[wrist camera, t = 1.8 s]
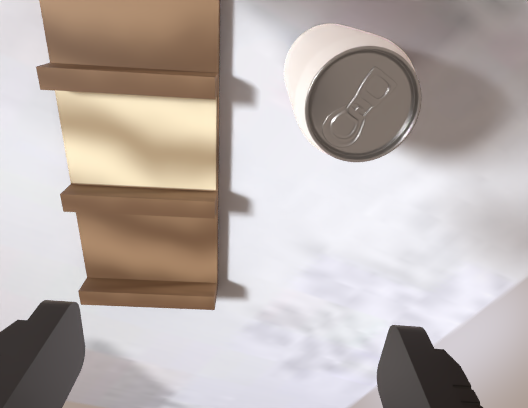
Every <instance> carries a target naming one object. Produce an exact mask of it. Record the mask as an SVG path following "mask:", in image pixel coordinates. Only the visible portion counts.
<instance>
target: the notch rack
mask: <svg viewBox="0 0 528 408" xmlns="http://www.w3.org/2000/svg"><path fill="white" fill-rule="evenodd" d="M39 1H40V7H41V13H42V18H43V24H44V30H45V36H46V42H47V47H48V53H49V59H50V63H48V64H44V65H41V66H37V67H36V68H37V74H38V79H39V84H40V90H55V94H56V100H57V105H58V111H59V117H60V123H61V128H62V134H63V140H64V146H65V152H66V157H67V163H68V169H69V175H70V181H71V185H70V186H68V187H67V188H66V189H65V190H64V191H63V192H62V193H61V194H60V196H61V201H62V206H63V211H64V212H76V215H77V221H78V227H79V233H80V239H81V244H82V250H83V256H84V262H85V268H86V273H87V279H86V280H85V282H84V283H83V285H82V287H81V288H80V290H79V297H80V302H81V305H105V306H130V307H155V308H180V309H205V310H214V309H215V303H216V296H217V289H218V173H219V50H220V0H39Z"/></svg>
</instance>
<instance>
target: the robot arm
mask: <svg viewBox="0 0 528 408" xmlns="http://www.w3.org/2000/svg"><path fill="white" fill-rule="evenodd" d="M84 357H85V342H84V335H83V328H82V322H81V315H80V309H79V305H78V304H77V303H76V302H66V301H52V300H44V301H43V302H41V303H40V304H39V306H38V307H37V308H36V310H35V311H34V312H33V314H32V315H31V316H30V318H29V319H28V320H17V321H15V322H14V323H13V324H11V325H10V326H8V327H7V328H6V329H4V330H3V331H1V332H0V408H62V407H63V405H64V403H65V401H66V399H67V397H68V395H69V393H70V391H71V389H72V387H73V385H74V383H75V381H76V379H77V377H78V375H79V373H80V371H81V368H82V365H83V362H84ZM377 385H378V391H379V395H380V398H381V401H382V405H383V408H483V407H482V406H480V401H479V399H478V398H477V396H476V394H475V392H474V390H472V389H471V385H470V383H469V381H468V379H467V377H466V375H465V374H464V372H463V370H462V368H461V366H460V365H459V364H458V363H457V362H456V361H455V360H454V359H453V358H452V357H451V356H450V355H449V354H447V352H446V351H445V350H444V349H434V347H433V345H432V343H431V341H430V339H429V337H428V335H427V333H426V331H425V330H424V329H423V328H422V327H415V326H400V325H392V326H391V327H390V328H389V331H388V334H387V337H386V341H385V344H384V348H383V351H382V354H381V358H380V361H379V364H378V369H377Z"/></svg>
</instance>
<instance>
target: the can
mask: <svg viewBox="0 0 528 408" xmlns="http://www.w3.org/2000/svg"><path fill="white" fill-rule="evenodd" d="M284 79H285V85H286V89H287V92H288V95H289V99H290V102H291V105H292V109H293V112H294V115H295V118H296V121H297V123H298V125H299V127H300V129H301V131H302V133H303V134H304V136H305V137H306V138H307V140H308V141H309V142H310V143H311V144H312V145H313V146H314V147H316V148H317V149H318V150H320V151H322V152H324V153H326V154H328V155H330V156H332V157H334V158H337V159H340V160H343V161H348V162H365V161H370V160H374V159H377V158H380V157H382V156H384V155H386V154H388V153H389V152H391V151H393V150H394V149H395V148H397V147H398V146H399V145H400V144H401V143H402V142H403V141H404V140H405V139H406V138H407V136H408V135H409V134H410V132H411V131H412V129H413V127H414V125H415V123H416V121H417V118H418V115H419V112H420V107H421V88H420V84H419V80H418V78H417V75H416V72H415V69H414V67H413V65H412V63H411V61H410V59H409V58H408V56H407V55H406V54H405V53H404V51H403V50H402V49H400V48H399V47H398V46H397V45H396V44H394V43H393V42H391V41H390V40H388V39H386V38H383V37H381V36H378V35H376V34H372V33H369V32H366V31H362V30H359V29H355V28H352V27H348V26H344V25H340V24H322V25H318V26H315V27H313V28H311V29H309V30H307V31H306V32H304V33H303V34H302V35H300V36H299V37H298V38H297V39H296V41H295V42H294V43H293V45H292V46H291V48H290V50H289V52H288V54H287V57H286V60H285V65H284Z"/></svg>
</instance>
